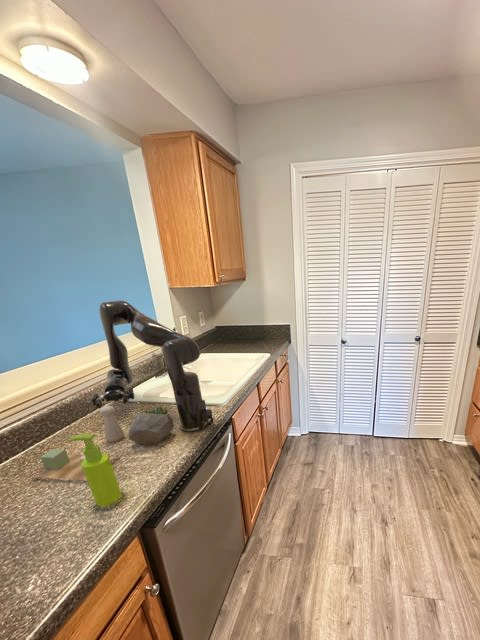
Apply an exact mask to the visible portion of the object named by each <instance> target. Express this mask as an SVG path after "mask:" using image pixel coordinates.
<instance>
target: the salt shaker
mask: <svg viewBox="0 0 480 640" xmlns="http://www.w3.org/2000/svg"><path fill="white" fill-rule="evenodd" d="M99 414H100V416H102V417H103V427H104V438H105V439H106V441H108V442H110V443H111V442H112V443H113V442H117V441H120V440H121V439H123V438H124V436H125V432H124V431H123V428H122V427H121V424H120V423H119V421H118V419H117V417H116V416H115V408H114V407H113V406H112V405H106V406H101V408H99Z"/></svg>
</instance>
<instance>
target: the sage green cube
mask: <svg viewBox="0 0 480 640" xmlns="http://www.w3.org/2000/svg"><path fill="white" fill-rule="evenodd" d="M68 455H69V454H68V453H67V450H66V449H60V448H52V449H51V450H49V451H47V452H46V453H44V454H43V455H41V456H40V460H41V462H42V465H43V466H44V470H45V469H48V470H59V469H61V468H62V467H63V466H65V465H66V464H67V463H69V462H70V460H69V458H68Z"/></svg>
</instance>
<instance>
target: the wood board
mask: <svg viewBox="0 0 480 640" xmlns="http://www.w3.org/2000/svg"><path fill="white" fill-rule="evenodd" d="M67 455H68V458H69V460H70V462H69V463H67V464H66V465H65V466H63V467H62V468H61V469H59V470H48V469H45V468H44V470H42V471H40V472H39V473H38V474H37V475H35V476H34V478H42V479H43V478H44V479H59V480H60V479H62V480H81V481H87V478H86V476H85V473H84V471H83V468H82V465H81V463H80V460H79V458H81V457H82V456H83V455H84V454H67ZM108 456H109V459H110V462H112V461H113V459H115V458H116V456H114V455H113V456H111V455H108Z"/></svg>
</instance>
